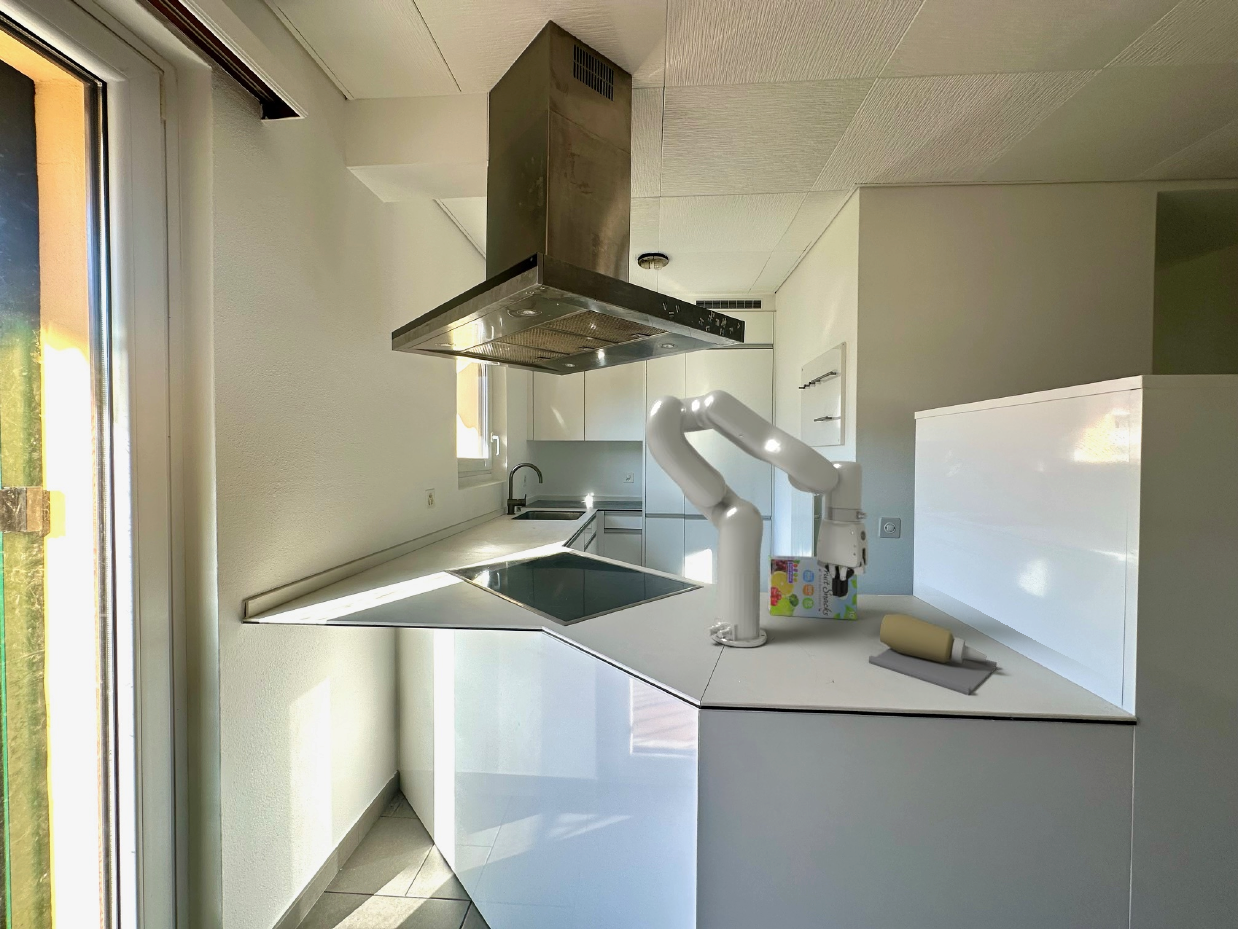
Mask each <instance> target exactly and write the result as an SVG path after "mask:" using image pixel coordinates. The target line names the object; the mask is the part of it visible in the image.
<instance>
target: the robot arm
mask: <svg viewBox="0 0 1238 929" xmlns="http://www.w3.org/2000/svg"><path fill="white" fill-rule="evenodd" d="M707 430H708V431H709V430H714V431H715V432H717V433H718V434H719V435H721V436H723V437H724V438H725V439H726V440H728V441H729V442H731V443H732V444H733V445H735V446H736V447H737V448H738V449H740V450H742V451H743V452H744V453H745V454H747V455H749V456H751V457H752V458H754V459H757V460H759V461H762V462H764V463H767V464H770V465H772V466H774V467H776V468H777V469H779V470H781V471H782V472H784V473H785V474H787V479H788V482H789V484H790V485H791V486H792V487H793V488H794V489H796V490H797V491H800V492H802V493H803V492H804V493H811V494H814V495H824V518H823V519H821V522H820V526H819V531H818V535H817V543H816V557H817V559H818V562H817V564H818V565H819V566H821V567H823V568H825V569H826V570H827V571H828V572H829V574H830V577H831V578H832V591H833V596H838V597H843V596H846V594H847V593H848V579H850V578H851V577H852V576H853V575H854V574H857V575H863V574H864V575H865V574H866V573H867V571H866V566H867V565H868V563H869V545H868V535H867V528H866V523H865V522H861V521H862V520H866V519H867V518H868V514H867V512H863V509H862V493H863V488H862V487H863V467H862V464H861V463H860V462H857V461H853V460H852V461H851V460H850V461H849V460H847V461H846V460H833V461H830V460H829V459H827V458H826V457H825V456H824V455H822V454H821V453H819V452H818V451H817V450H815V449H814V448H812V447H811V446H810V445H808V444H807V443H805V442H803V441H802V440H800V439H798V438H796V437H794V435H790V434H789V433H787V432H786V431H784V430H783V429H781V428H779V427H778V426H776V425H774V424H772V423H771V422H770V421H768V420H766V419H765V418H763V417H762V416H761V415H759V414H758V413H757V412H755V411H754V410H752V409H751V408H749V407H748V406H747V405H746V404H744V403H743V402H742V401H740V400H739V399H737V398H736V397H735V396H734V395H732V394H731V393H729V392H727V391H725V390H721V389H714V390H712V391H709V392H707V393H705V395H699V396H694V397H686V398H678V397H676V396H674V395H663V396H659V397H658V398H657V399H656V400H654V402H652V404H651V406H650V407H649V410H648V412H647V418H646V424H645V438H646V439H645V440H646V444H647V448H648V450H649V452H650V454H651V456H652V457H653V459H654V460H655V462H656V463H657V464H658V466H660V468H661V469H662V470H663V471H664V472H665V473H666V474H667V475H668V477H669V478H670V479H671V480H672V481H673V482H674V483H675V485H677V486H678V487H679V488H680V489H681V492H682V494H683V496H684V497H685V498H686V499H687V500H688V501H689V503H690V504H691V505H692V506H693V507H694V508H695V509H696V510H697V511H698V512H700V513H701V515H702V516H704V518H705V519H706V520H708V521H709V523H711V524H712V526H714V527H715V529H717V530H718V543H717V544H718V545H717V560H716V564H717V566H716V571H717V576H716V580H717V582H716V585H717V586H716V587H717V588H716V618H714V623H713V624H712V626H707V627H705V628H704V630H703V634H704V636H706V637H707V638H708V637H711V639H713V640H714V641H716V642H717V643H719V644H723V645H726V646H729V647H730V646H731V647H735V648H736V647H737V648H752V647H753V648H755V647H758V646H762V645H763V644H765V643H766V641H767V638H768V635H767V633H766V631H764V629H763V628H760V620H761V619H760V616H761V614H760V612H761V551H762V542H763V537H764V519H763V517H762V513H761V511H760V510H759V508H758V507H757V506H756V505H755V504H754V503H752V501H749V500H746V499H744V498H741V497H740V496H739V495H738V494H737V492H735V491H734V490H733V489H732V488H731V487H730V486H729V485H728V484H727V482H726V480H725V477H724V476H723V475H722V473H721V472H720V471H719V470H717V469H716V468H715V467H714V466H713V465H711V464H710V463H709V462H708V461H707V460H706V458H704V457H703V456H702V455H701V454H700V453H699V452H698V451H697V449H696V448H695V447H694V446H693V445H692V444H691V443H690V442H689V441H688V439H687V436H686V435H685V434H686V433H693V432H700V431H702V432H703V431H707ZM840 566H842V569H841V571H840Z"/></svg>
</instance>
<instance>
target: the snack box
mask: <svg viewBox="0 0 1238 929" xmlns="http://www.w3.org/2000/svg"><path fill="white" fill-rule="evenodd" d="M817 562H818V559H817V556H805V555H803V556H802V555H801V556H800V555H799V556H798V555H776V554H775V555H772V554H770V555H768V556H767V609H768V612H769V614H770V615H771V616H784V617H802V618H816V619H820V618H821V619H833V620H834V619H836V620H850V621H851V620H853V621H856V620H857V617H858V616H857V614H858V613H857V612H858V602H857V601H858V574H854V575H853V576H852V577H851V578H850V579H848V593H847V594H846V596H843V597H838V596H833V591H832V578H831V577H830V574H829V572H828V571H827V570H826V569H825V568H823V567H821V566H819V565H818V564H817ZM841 569H842V566H840V571H841Z"/></svg>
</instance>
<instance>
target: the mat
mask: <svg viewBox="0 0 1238 929" xmlns="http://www.w3.org/2000/svg"><path fill="white" fill-rule="evenodd" d="M868 663H869V664H872V665H875V666H878V667H880V668H884V669H888V670H890V671H893V672H895V673H896V672H897V673H899V674H903V675H905V676H908V677H911V678H915V679H918V680H921V681H924V682H926V683H930V684H933V685H937V686H939V687H942V688H944V689H948V690H951V691H955V692H957V693H961V694H965V695H967V694H968V696H969V695H971V693H972V692H973V691H974V690H976V689H977V688H978V687H979V686H980V685H981V684H982V683H983V682H984V681H985V680H986V679H987V678H988V677H989V676H990V675H991V674H992V673H993V672H994V671H995V670H996V669H997V666H998V665H997V662H996V661H992V660H989V659H986V662H984V661H976V660H968V659H963V660H962V663H958V662H954V661H952V660H951V658H950V659H949V661H948V662H946V663H941V662H937V661H933V660H928V659H924V658H920V657H915V656H911V655H907V654H902V653H898V652H897V651H895V650H894V649H892V648H890V647H889V648H888V649H886V650H885V651H883V652H881V653H879V654H877V655H876V656H873V655H869V657H868ZM994 669H995V670H994ZM993 670H994V671H993ZM992 671H993V672H992ZM991 672H992V673H991ZM990 673H991V674H990ZM989 674H990V675H989ZM988 675H989V676H988ZM987 676H988V677H987ZM986 677H987V678H986ZM985 678H986V679H985ZM984 679H985V680H984ZM983 680H984V681H983ZM982 681H983V682H982ZM981 682H982V683H981ZM980 683H981V684H980ZM979 684H980V685H979ZM978 685H979V686H978ZM977 686H978V687H977Z"/></svg>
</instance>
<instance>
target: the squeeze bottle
mask: <svg viewBox="0 0 1238 929" xmlns="http://www.w3.org/2000/svg"><path fill="white" fill-rule="evenodd" d="M879 640H880V642H881V643H883V644H884V645H886V646H887V647H889V649H890V648H892V649H894V650H895V651H897V652H898V653H902V654H907V655H911V656H915V657H920V658H924V659H928V660H933V661H937V662H941V663H946V662H948V661H949V659H950V658H951V660H952V661H954V662H958V663H962V660H963V659H968V660H976V661H984V662H986V660H987V655H986V654H984V653H982V652H980V651H978V650H976V649H974V648H972V647H969V646H968V645H966V640H965V639H962V638H959V637H954V636H953V633H952V631H950V630H949V629H945V628H943V627H940V626H938V625H936V624H932V623H930V622H927V621H924V620H922V619H919V618H916V617H914V616H911V615H908V614H906V613H905V614H904V613H903V614H901V613H900V614H898V613H896V614H895V613H894V614H893V613H891V614H888V613H887V614H885V615H884V617H883V619H882V621H881V624H880V630H879Z"/></svg>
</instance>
